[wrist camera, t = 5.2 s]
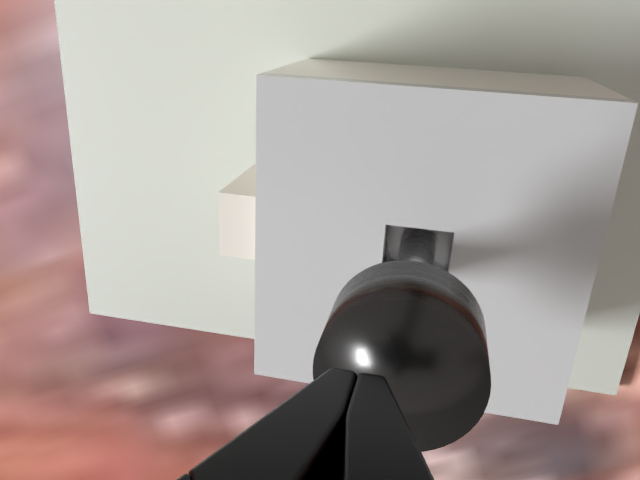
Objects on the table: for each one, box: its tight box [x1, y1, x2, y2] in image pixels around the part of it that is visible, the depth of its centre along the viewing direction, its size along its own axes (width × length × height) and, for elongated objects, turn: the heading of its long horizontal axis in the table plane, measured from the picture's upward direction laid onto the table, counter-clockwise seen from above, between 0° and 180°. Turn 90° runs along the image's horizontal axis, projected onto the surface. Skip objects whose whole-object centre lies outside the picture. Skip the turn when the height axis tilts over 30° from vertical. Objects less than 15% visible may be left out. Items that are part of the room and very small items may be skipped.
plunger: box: [313, 225, 491, 452], centre depth 14 cm, size 7×7×7 cm
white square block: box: [218, 58, 638, 425], centre depth 18 cm, size 10×9×6 cm
